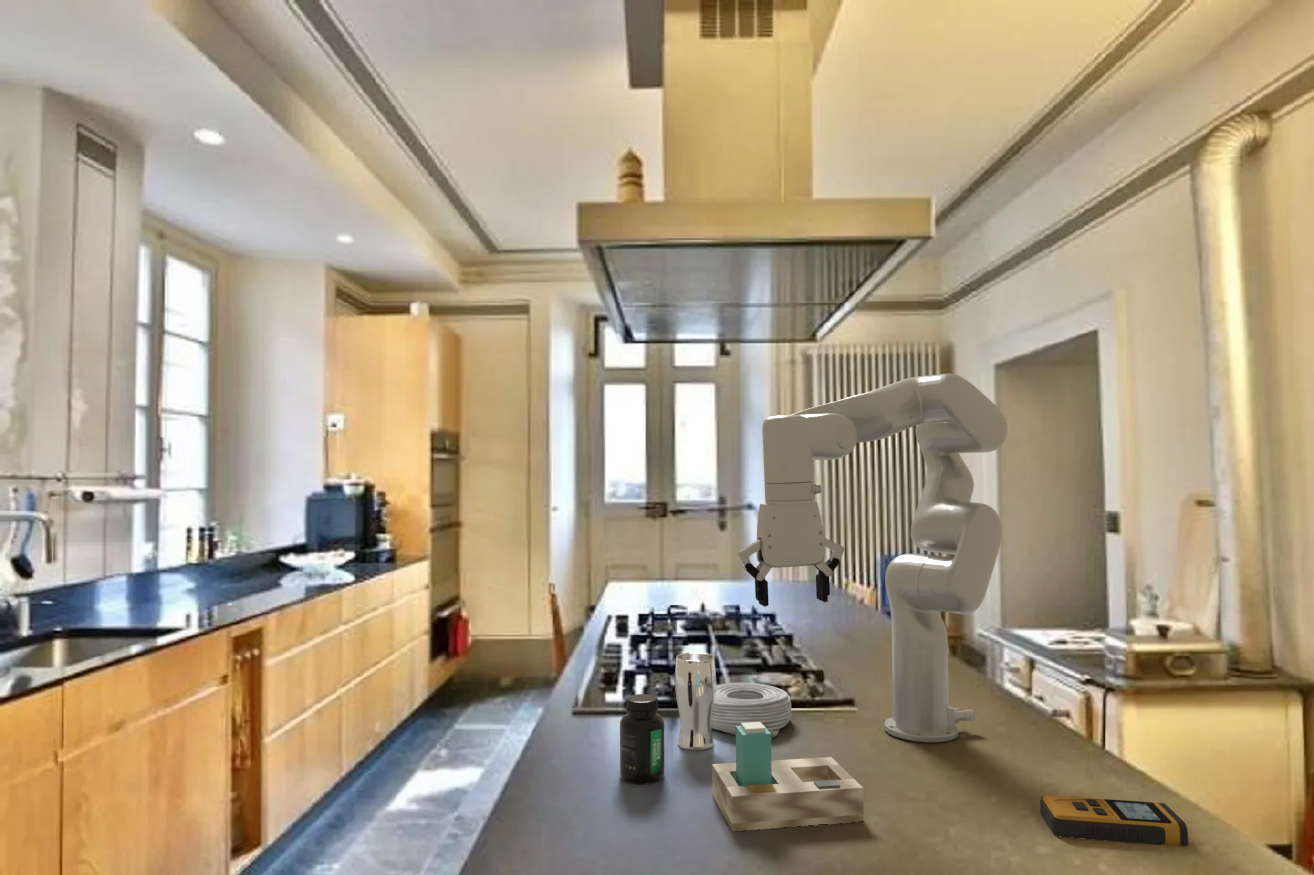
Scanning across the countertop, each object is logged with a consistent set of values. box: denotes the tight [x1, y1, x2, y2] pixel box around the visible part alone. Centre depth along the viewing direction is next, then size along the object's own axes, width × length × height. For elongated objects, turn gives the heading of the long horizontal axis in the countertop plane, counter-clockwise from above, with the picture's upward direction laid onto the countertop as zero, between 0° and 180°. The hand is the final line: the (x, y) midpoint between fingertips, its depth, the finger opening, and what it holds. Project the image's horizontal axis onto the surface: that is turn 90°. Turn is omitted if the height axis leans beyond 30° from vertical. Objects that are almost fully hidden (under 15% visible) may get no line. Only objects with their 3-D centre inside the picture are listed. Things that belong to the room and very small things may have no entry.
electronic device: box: [1039, 794, 1189, 847], centre depth 109 cm, size 8×16×3 cm, turn 79°
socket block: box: [711, 756, 865, 832], centre depth 116 cm, size 18×12×5 cm, turn 99°
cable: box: [711, 682, 792, 739], centre depth 155 cm, size 18×18×6 cm
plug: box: [735, 722, 772, 786], centre depth 116 cm, size 4×4×11 cm
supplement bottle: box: [619, 693, 665, 785], centre depth 128 cm, size 7×7×12 cm
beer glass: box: [674, 651, 717, 752], centre depth 143 cm, size 7×7×15 cm
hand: (793, 602), depth 131 cm, fingers open, 9 cm apart
